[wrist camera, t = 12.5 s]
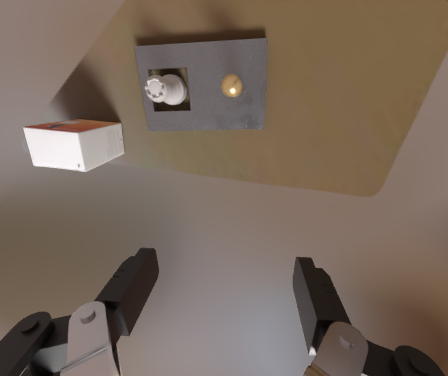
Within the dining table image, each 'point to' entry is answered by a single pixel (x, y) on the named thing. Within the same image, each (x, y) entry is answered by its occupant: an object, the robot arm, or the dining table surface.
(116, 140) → the small box
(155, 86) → the rook chess piece
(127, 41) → the dining table surface
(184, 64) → the bolt plate
